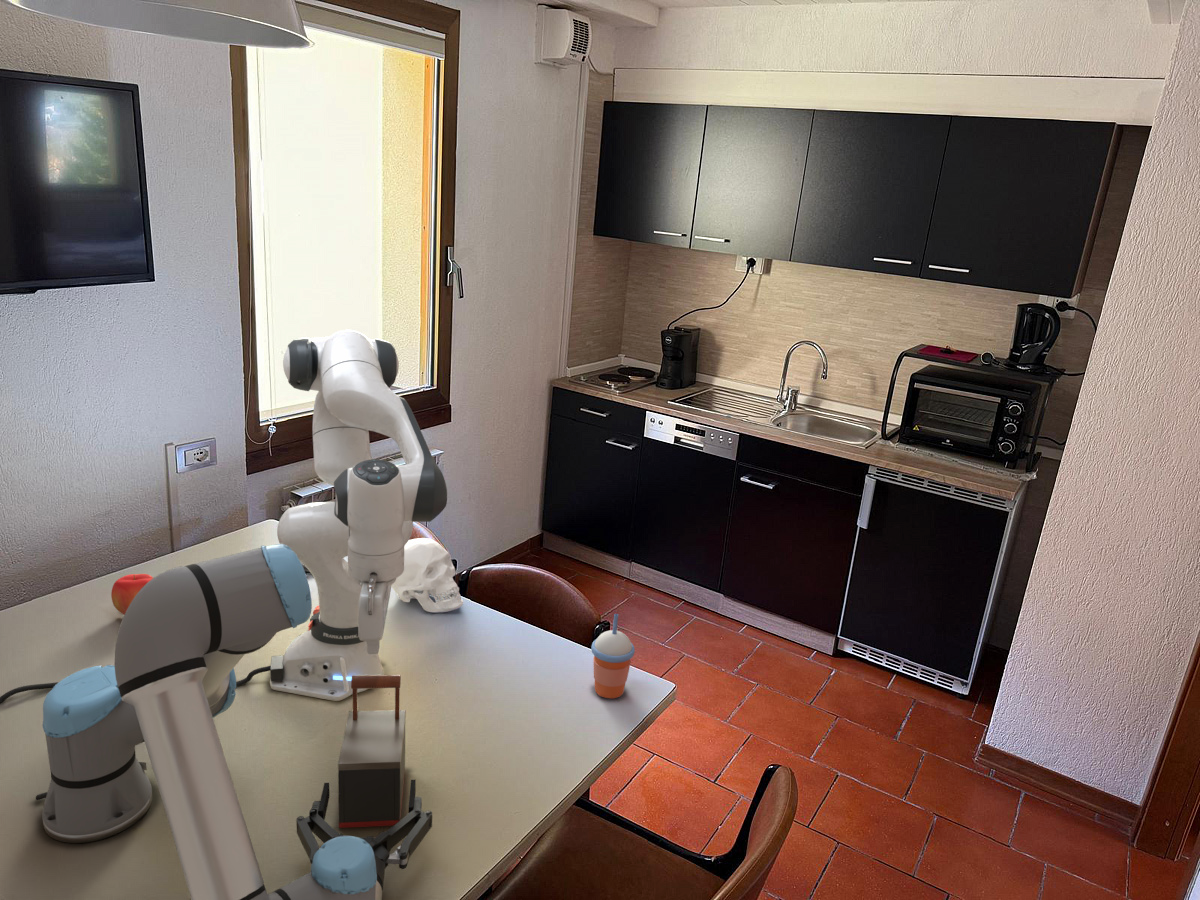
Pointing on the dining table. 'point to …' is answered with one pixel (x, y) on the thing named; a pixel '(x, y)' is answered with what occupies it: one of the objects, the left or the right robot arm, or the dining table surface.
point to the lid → (373, 729)
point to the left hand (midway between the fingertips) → (370, 787)
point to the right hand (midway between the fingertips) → (376, 636)
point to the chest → (371, 796)
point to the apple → (128, 590)
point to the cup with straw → (611, 661)
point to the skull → (428, 576)
